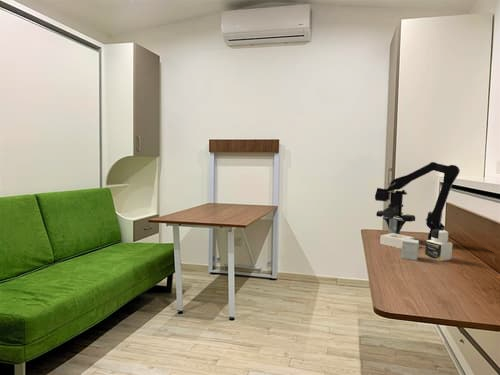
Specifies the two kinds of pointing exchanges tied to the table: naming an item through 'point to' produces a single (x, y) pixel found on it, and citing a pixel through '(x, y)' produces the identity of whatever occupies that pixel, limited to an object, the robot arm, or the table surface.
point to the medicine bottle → (438, 246)
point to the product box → (410, 249)
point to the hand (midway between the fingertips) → (394, 232)
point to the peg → (393, 226)
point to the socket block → (393, 239)
